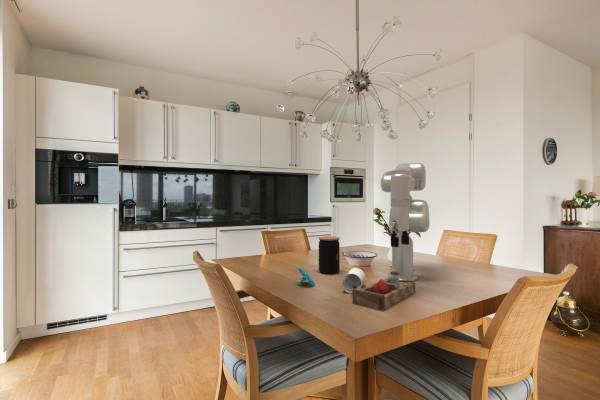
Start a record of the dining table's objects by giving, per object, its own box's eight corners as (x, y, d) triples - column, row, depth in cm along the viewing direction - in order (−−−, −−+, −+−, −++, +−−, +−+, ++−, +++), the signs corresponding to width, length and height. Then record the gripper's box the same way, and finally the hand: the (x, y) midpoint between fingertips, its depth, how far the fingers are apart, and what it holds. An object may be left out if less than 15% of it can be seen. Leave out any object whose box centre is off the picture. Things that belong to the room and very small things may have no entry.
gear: (315, 284, 138) (299, 267, 139) (305, 294, 138) (289, 277, 139) (316, 281, 149) (301, 265, 150) (307, 291, 148) (292, 274, 150)
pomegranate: (371, 297, 125) (371, 276, 125) (386, 297, 125) (386, 276, 125) (376, 302, 119) (376, 280, 119) (391, 302, 119) (391, 280, 119)
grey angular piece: (393, 287, 137) (393, 268, 137) (409, 290, 133) (409, 271, 133) (378, 294, 128) (378, 274, 128) (395, 298, 123) (395, 277, 123)
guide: (388, 287, 139) (388, 275, 139) (415, 292, 131) (415, 280, 131) (352, 303, 118) (352, 289, 118) (382, 310, 110) (382, 295, 110)
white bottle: (367, 283, 147) (367, 265, 147) (361, 294, 129) (361, 274, 129) (349, 281, 149) (349, 264, 149) (341, 292, 132) (341, 272, 132)
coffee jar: (340, 274, 163) (340, 238, 163) (319, 274, 163) (319, 238, 163) (338, 270, 173) (338, 236, 173) (318, 270, 173) (318, 236, 173)
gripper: (400, 203, 144) (400, 242, 144) (381, 204, 131) (381, 247, 131) (417, 203, 139) (417, 244, 139) (399, 204, 126) (399, 248, 126)
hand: (400, 245), depth 135 cm, fingers open, 9 cm apart
